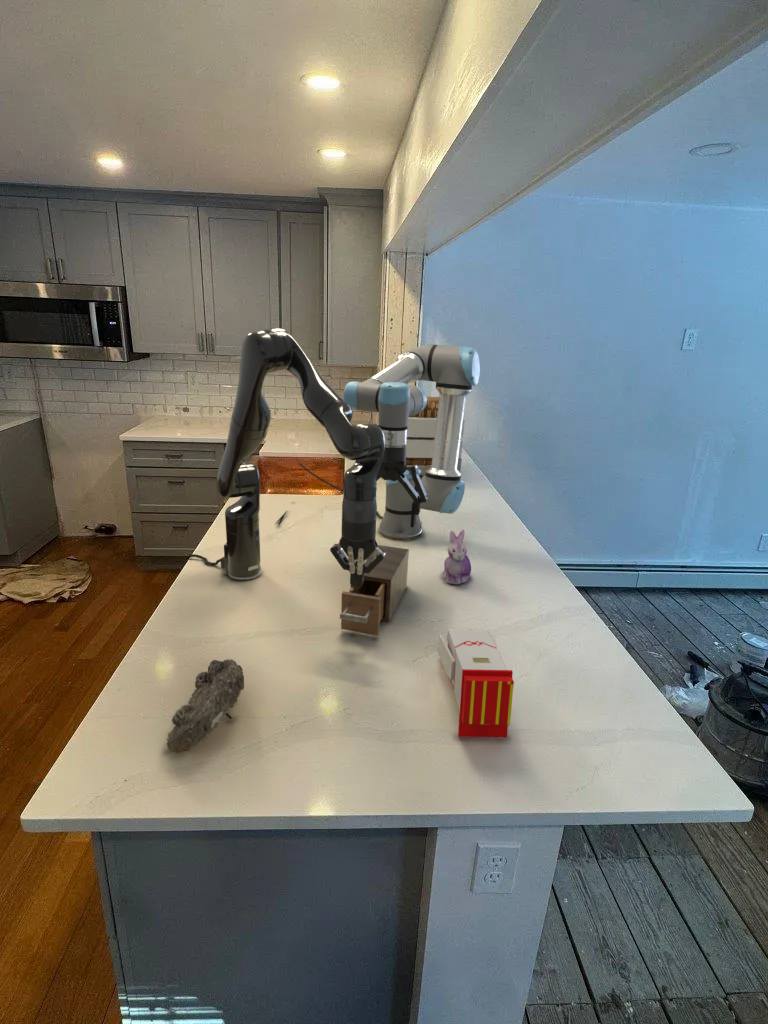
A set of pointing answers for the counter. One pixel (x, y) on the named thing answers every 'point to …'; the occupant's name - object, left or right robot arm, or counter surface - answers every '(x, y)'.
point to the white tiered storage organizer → (425, 436)
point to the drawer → (364, 607)
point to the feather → (281, 519)
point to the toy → (478, 682)
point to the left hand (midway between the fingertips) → (357, 587)
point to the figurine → (457, 560)
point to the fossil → (206, 705)
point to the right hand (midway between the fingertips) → (388, 522)
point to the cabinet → (390, 576)
